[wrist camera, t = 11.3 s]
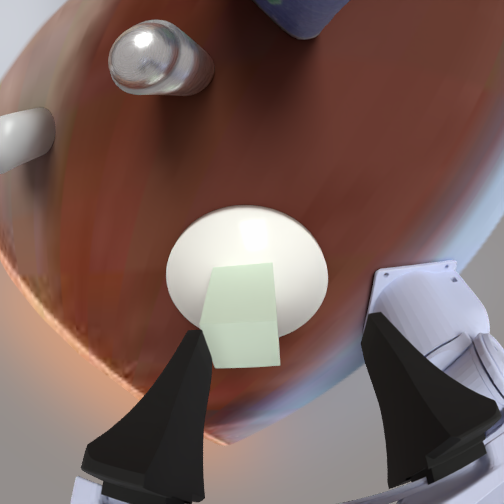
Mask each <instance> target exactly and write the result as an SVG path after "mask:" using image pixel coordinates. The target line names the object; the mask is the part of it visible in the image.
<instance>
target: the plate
mask: <svg viewBox="0 0 504 504" xmlns="http://www.w3.org/2000/svg"><path fill="white" fill-rule="evenodd" d="M272 262H273V273H274V284H275V296H276V308H277V322H278V337H281V336H284V335H286V334H288V333H290V332H292V331H294V330H296V329H298V328H299V327H301V326H302V325H303V324H305V323H306V322H307V321H308V320H309V319H310V318H311V317H312V316H313V315H314V314H315V313H316V311H317V310H318V308H319V307H320V305H321V303H322V301H323V299H324V297H325V294H326V291H327V285H328V271H327V266H326V262H325V259H324V257H323V254H322V251H321V249H320V246H319V245H318V243H317V241H316V239H315V238H314V237H313V235H312V234H311V233H310V232H309V231H308V230H307V229H306V228H305V227H304V226H303V225H302V224H301V223H300V222H298V221H297V220H295V219H294V218H292V217H290V216H289V215H287V214H285V213H283V212H280V211H277V210H274V209H272V208H267V207H263V206H255V205H235V206H229V207H224V208H220V209H217V210H214V211H212V212H209V213H207V214H205V215H203V216H201V217H200V218H198V219H197V220H195V221H194V222H193V223H192V224H190V225H189V226H188V227H187V228H186V229H185V230H184V232H183V233H182V234H181V235H180V237H179V238H178V240H177V242H176V243H175V245H174V247H173V249H172V251H171V254H170V256H169V259H168V263H167V268H166V280H167V286H168V290H169V293H170V296H171V298H172V300H173V302H174V304H175V305H176V307H177V308H178V310H179V311H180V312H181V313H182V314H183V315H184V316H185V317H186V318H187V319H188V320H189V321H190V322H191V323H193V324H194V325H195V326H197V327H198V328H200V325H199V324H200V319H201V315H202V311H203V306H204V302H205V298H206V294H207V290H208V285H209V281H210V277H211V273H212V269H213V267H225V266H237V265H249V264H261V263H272ZM200 329H201V328H200Z"/></svg>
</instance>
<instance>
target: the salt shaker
mask: <svg viewBox="0 0 504 504" xmlns="http://www.w3.org/2000/svg"><path fill="white" fill-rule="evenodd" d="M108 65H109V70H110V74H111V77H112V79H113V81H114V82H115V84H116V85H117V86H118V87H119V88H120V89H122V90H123V91H125V92H127V93H130V94H135V95H174V96H190V95H194V94H197V93H199V92H201V91H202V90H204V89H205V88H206V87H207V86H208V85H209V83H210V82H211V80H212V78H213V75H214V69H215V68H214V62H213V59H212V58H211V56H210V55H209V54H208V53H207V52H206V51H205V50H204V49H203V48H201V47H200V46H199V45H198V44H197V43H196V42H194V41H193V40H192V39H191V38H190V37H189V36H187V35H186V34H185V33H184V32H183V31H181V30H180V29H179V28H178V27H176V26H175V25H174V24H172V23H170V22H167V21H163V20H149V21H145V22H141V23H139V24H137V25H135V26H133V27H131V28H129V29H128V30H126V31H125V32H123V33H122V34H121V35H120V36H119V37H118V38H117V40H116V41H115V42H114V44H113V46H112V48H111V50H110V53H109V59H108Z"/></svg>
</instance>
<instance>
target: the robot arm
mask: <svg viewBox="0 0 504 504" xmlns="http://www.w3.org/2000/svg"><path fill="white" fill-rule="evenodd" d="M456 266H457V262H456V261H455V260H447V261H440V262H433V263H425V264H417V265H409V266H401V267H392V268H384V269H379V270H377V271H376V272H375V275H374V281H373V287H372V292H371V297H370V302H369V307H368V311H367V316H366V320H365V324H364V329H363V332H364V334H363V337H362V341H361V346H362V351H363V356H364V360H365V364H366V367H367V369H368V373H369V375H370V379H371V382H372V384H373V387H374V390H375V393H376V396H377V399H378V402H379V406H380V410H381V415H382V420H383V426H384V433H385V440H386V450H387V466H388V467H387V468H388V486H389V489H390V488H393V487H396V486H399V485H402V484H405V483H408V482H410V481H411V482H412V483H409V484H406V485H403V486H401V487H398V488H395V489H392V490H389V491H386V492H382V493H379V494H376V495H372V496H368V497H365V498H361V499H357V500H352V501H348V502H343V503H338V504H389V503H392V502H394V501H398V500H399V501H398V502H397V503H396V504H504V349H503V348H502V346H501V345H500V344H499V342H498V341H497V340H496V339H495V338H494V337H493V336H492V335H491V334H489V333H490V324H489V318H488V314H487V312H486V309H485V307H484V306H483V304H482V303H481V302H480V300H479V299H478V298H477V296H476V295H475V294H474V292H473V291H472V290H471V289H470V287H469V286H468V285H467V284H466V283H465V281H464V280H463V279H462V278H461V277H460V275H459V274H458V273H457V272H456V271H455V270H456ZM385 273H387V274H386V275H384V274H385ZM211 375H212V356H211V354H210V351H209V348H208V345H207V343H206V340H205V337H204V334H203V331H202V330H189V331H188V332H187V333H186V335H185V336H184V338H183V340H182V342H181V343H180V345H179V347H178V348H177V350H176V352H175V353H174V355H173V357H172V358H171V360H170V361H169V363H168V364H167V366H166V367H165V369H164V370H163V372H162V373H161V375H160V376H159V377H158V379H157V380H156V382H155V383H154V384H153V386H152V387H151V388H150V389H149V391H148V392H147V393H146V394H145V395H144V397H143V398H142V399H141V400H140V401H139V402H138V403H137V404H136V406H135V407H134V408H133V409H132V410H131V411H130V412H129V413H128V414H127V415H125V416H124V417H123V418H122V419H121V420H120V421H119V422H118V423H116V424H115V425H114V426H113V427H112V428H110V429H109V430H108V431H107V432H105V433H104V434H102V435H101V436H99V437H98V438H97V439H95V440H94V441H92V442H91V443H89V444H88V445H87V448H86V451H85V454H84V458H83V462H82V466H81V469H82V470H83V471H84V472H86V473H88V474H90V475H92V476H94V477H96V478H98V479H100V480H103V485H100V484H98V483H95V482H92V481H90V480H87V479H85V478H82V477H80V476H76V479H75V484H74V488H73V493H72V498H71V503H70V504H192V502H200V501H202V500H203V499H204V498H205V494H204V479H203V433H204V421H205V414H206V408H207V402H208V396H209V390H210V384H211Z"/></svg>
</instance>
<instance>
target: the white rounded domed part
mask: <svg viewBox="0 0 504 504" xmlns="http://www.w3.org/2000/svg"><path fill="white" fill-rule="evenodd" d="M54 138H55V122H54V118H53V116H52V114H51V112H50V111H49V110H48V109H46V108H43V107H39V108H34V109H29V110H24V111H20V112H15V113H11V114H7V115H3V116H0V174H3V173H5V172H7V171H9V170H11V169H13V168H15V167H17V166H19V165H22V164H24V163H26V162H28V161H30V160H33V159H35V158H37V157H40V156H42V155H44V154H46V153H47V152H48V151H49V150H50V148H51V146H52V144H53V142H54Z"/></svg>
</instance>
